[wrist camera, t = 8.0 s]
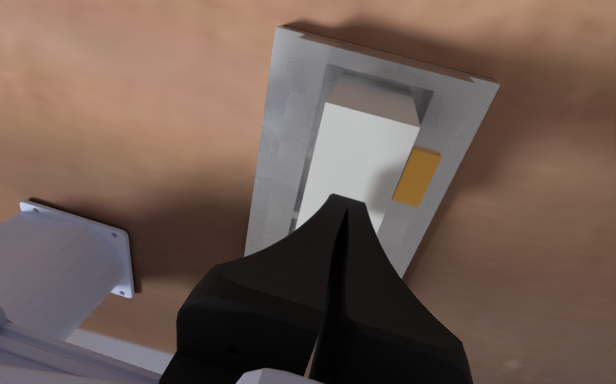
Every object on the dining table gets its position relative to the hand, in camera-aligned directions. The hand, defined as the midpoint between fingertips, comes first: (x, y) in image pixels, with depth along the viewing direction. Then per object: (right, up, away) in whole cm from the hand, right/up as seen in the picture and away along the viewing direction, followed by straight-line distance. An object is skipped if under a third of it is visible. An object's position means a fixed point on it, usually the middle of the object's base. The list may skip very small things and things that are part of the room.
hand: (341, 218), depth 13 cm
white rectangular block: (+1, +4, +6) cm, 7 cm away
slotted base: (+1, 0, +9) cm, 9 cm away
